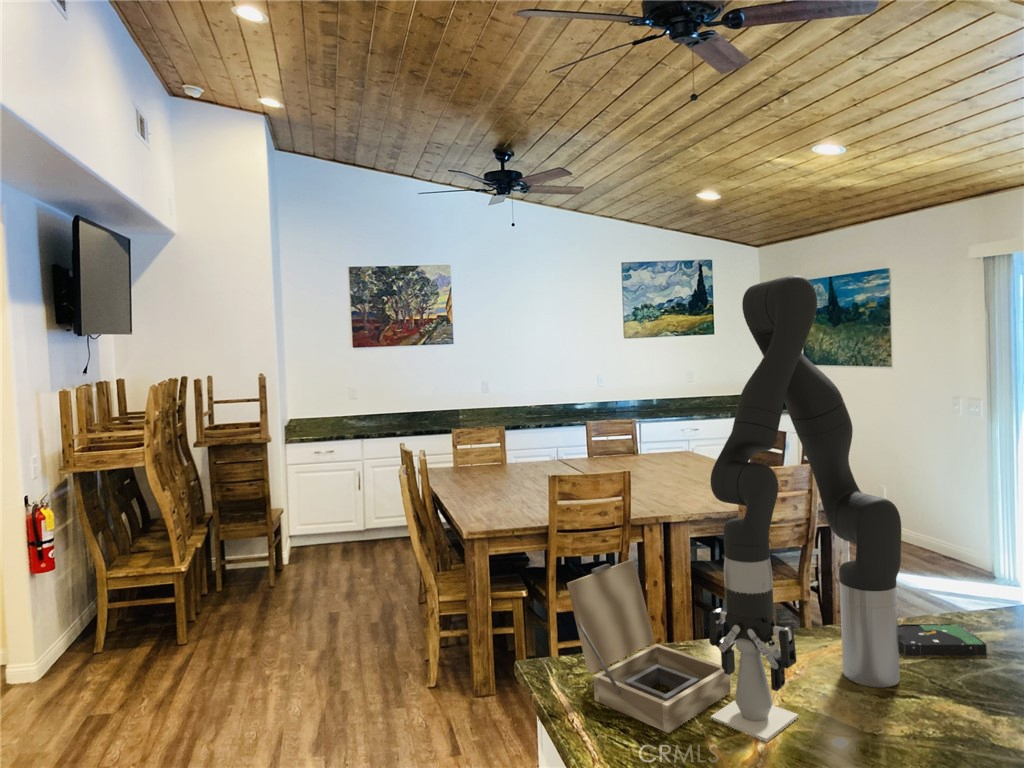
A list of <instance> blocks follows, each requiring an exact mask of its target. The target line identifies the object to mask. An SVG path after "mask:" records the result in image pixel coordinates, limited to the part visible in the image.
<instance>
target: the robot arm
mask: <svg viewBox="0 0 1024 768" xmlns="http://www.w3.org/2000/svg"><path fill="white" fill-rule="evenodd" d="M817 296H818V295H817V292H816V290H815V287H814V286H813V284H812V283H811V282H810V280H808V279H807V278H806V277H803V276H801V275H789V276H784V277H779V278H775V279H772V280H767V281H764V282H763V281H762V282H760V283H756V284H753V285H752V286H750V287H749V288H747V289H746V291H745V292H744V294H743V297H742V305H741V306H742V307H741V308H742V313H743V317H744V320H745V323H746V325H747V327H748V329H749V332H750V334H751V335H752V337H753V339H754V341H755V343H756V345H757V346H758V349H759V351H760V352H761V354H762V356H763V357H762V359H761V361H760V362H759V364H758V366H757V367H756V369H755V370H754V371H753V373H752V374H751V376H750V378H748V380H747V382H746V384H744V385H745V386H744V387H743V389H742V392H740V397H739V400H738V403H737V406H736V411H735V417H734V421H733V425H732V428H731V429H732V430H731V433H730V434H729V437H728V438H727V440H726V442H725V444H724V446H723V448H722V450H721V451H720V453H719V455H718V457H717V459H716V461H715V463H714V464H713V467H712V470H711V474H710V489H711V491H712V493H713V496H714V497H715V498H716V499H717V500H718V501H719V502H723V503H726V504H732V505H737V506H745V507H746V512H745V514H744V516H742V517H736V518H735V517H734V518H731V519H729V520H727V521H726V522H725V523H724V526H723V549H724V550H723V551H724V553H723V554H724V560H723V561H724V562H723V584H724V585H723V586H724V604H725V610H726V611H724V609H723V608H722V607H718V608H715V609H713V610H712V611H710V612H709V635H708V637H709V640H708V641H709V644H710V645H711V646H713V647H714V646H715V647H717V648H718V649H719V651H720V655H721V656H720V657H721V659H720V661H721V666H722V668H723V670H724V673H725V674H727V675H730V676H731V675H732V674H734V673H735V671H736V666H735V665H736V662H735V661H736V660H735V650H734V649H733V647H734V646H736V639H739V638H742V639H746V640H749V641H751V642H752V643H753V644H754V645H755V647H756V649H757V648H758V649H759V650H760V652H761V656H763V657H765V658H766V660H767V661H768V662H769V664H770V666H771V667H770V682H771V683H770V685H771V690H773V691H775V692H778V691H780V690H781V689H782V688H783V687H784V686H785V684H786V669H789V668H791V666H793V665H795V664H796V663H797V651H796V642H795V641H796V640H795V634H794V633H795V632H794V628H793V626H790V625H787V626H785V627H783V626H778V625H776V623H775V621H774V613H775V611H774V609H775V607H774V605H775V604H774V586H773V584H774V583H773V570H772V563H771V556H770V554H771V553H770V550H771V549H770V528H771V524H772V519H773V514H774V511H775V507H776V503H777V499H778V495H779V480H778V477H777V475H776V472H775V471H774V470H773V469H772V467H770V466H769V465H767V464H765V463H760V462H759V463H758V462H749V461H750V460H751V459H752V457H753V456H754V455H756V454H758V453H764V452H768V451H771V450H772V449H773V448H774V447H775V445H776V442H777V437H778V433H779V428H780V423H781V417H782V414H783V413H782V412H783V408H784V404H785V407H786V410H787V412H788V415H789V417H790V421H791V423H792V425H793V428H794V430H795V433H796V435H797V437H798V439H799V441H800V444H801V446H802V449H803V451H804V453H805V456H806V459H807V461H808V464H809V467H810V469H811V472H812V475H813V476H814V479H815V483H816V487H817V489H818V494H819V496H820V500H821V504H822V508H823V511H824V515H825V518H826V521H827V523H828V527H829V528H830V530H831V531H832V533H833V534H835V535H836V536H837V538H840V539H841V540H844V541H845V542H849V543H851V544H854V545H856V546H855V559H854V560H848V561H845V562H843V563H842V564H840V566H839V569H838V577H839V582H838V583H839V600H840V601H839V602H840V603H839V604H840V626H841V629H840V631H841V650H842V651H841V654H842V655H841V656H842V657H841V658H842V674H843V676H844V677H845V678H847V680H849V681H851V682H853V683H856V684H857V685H861V686H865V687H870V688H891V687H893V686H896V685H898V684H899V683H900V680H901V673H900V672H901V671H900V650H899V640H898V624H899V620H898V618H899V616H898V595H897V594H898V591H897V577H898V574H899V572H900V569H901V563H902V520H901V516H900V512H899V510H898V508H897V506H896V505H895V504H894V503H893V501H891V500H889V499H886V498H884V497H881V496H877V495H871V494H868V493H863V491H861V490H860V488H859V486H858V484H857V482H856V480H855V478H854V475H853V472H852V470H851V466H850V462H849V461H850V459H849V458H850V457H849V456H850V451H851V444H852V439H853V423H852V419H851V416H850V413H849V411H848V408H847V407H846V403H845V400H844V398H843V396H842V393H841V392H840V389H839V388H838V387H837V386H836V385H835V383H834V382H833V381H832V380H831V379H830V378H829V377H828V376H827V375H826V374H825V373H824V372H822V371H821V370H820V369H819V368H818V367H817V366H816V365H815V364H814V363H813V362H812V361H810V359H809V358H808V357H806V355H804V353H803V349H804V347H805V344H806V342H807V339H808V336H809V333H810V332H811V328H812V326H813V323H814V321H815V318H816V314H817V309H818V308H817V307H818V298H817ZM725 623H726V625H727V626H728V628H729V630H730V631H729V632H728V633H727V635H726V636H725V637H724V634H725V633H724V632H725V631H724V628H725V625H724V624H725ZM773 635H775V636H776V639H775V637H774V636H773ZM778 642H779V643H778ZM767 644H768V646H767Z"/></svg>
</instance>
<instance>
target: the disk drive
mask: <svg viewBox="0 0 1024 768" xmlns="http://www.w3.org/2000/svg"><path fill="white" fill-rule="evenodd" d="M898 640H899V652H901V653H902V654H903V655H904V656H911V657H913V656H917V657H919V656H921V657H922V656H969V657H971V656H981V657H982V656H987V654H988V653H987V652H988V651H987V650H988V649H987V643H986V642H984V641H983V640H982V639H980V638H979V637H977V635H976V634H974V633H972V632H971V631H969V630H967V628H965V627H964V625H962V624H950V623H940V624H939V623H916V624H915V623H912V624H911V623H909V624H906V623H905V624H904V623H902V624H901V623H900V624H899V623H898Z"/></svg>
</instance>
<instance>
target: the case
mask: <svg viewBox="0 0 1024 768" xmlns="http://www.w3.org/2000/svg"><path fill="white" fill-rule="evenodd" d="M577 625H578V626H579V628H580V630H581V632H582V633H583V635H584V637H585V638H586V640H587V642H588V643H589V645H590V647H591V649H592V650H593V652H594V654H595V655H596V657H597V659H598V661H599V662H600V664H601V666H602V667H603V668H602V669H603V670H601V671H599V672H598V673H596V674H593V679H592V680H593V692H594V693H593V694H594V695H593V696H594V701H595V702H598V703H599V704H602V705H604V706H607V707H609V708H611V709H613V710H615V711H618V712H620V713H622V714H624V715H627V716H629V717H631V718H633V719H635V720H638V721H640V722H641V723H644V724H647V725H649V726H652V727H653V728H656V729H658V730H660V731H663V732H665V733H667V734H670V733H671V732H673V731H675V730H677V729H678V728H680V727H681V726H682V725H684V724H686V723H687V722H688V720H689V721H691V720H692V719H693V718H695V717H696V716H698V715H699V714H701V713H703V712H704V711H705V710H704V709H706V708H707V707H708V706H709V705H711V704H713V703H714V702H716V701H717V700H719V699H721V698H722V697H724V696H725V695H727V694H728V693H730V692H731V691H732V690H731V674H730V675H727V674H725V673H724V670H723V668H722V664H721V665H720V664H718V663H715V662H712V661H708V660H706V659H703V658H700V657H696V656H695V655H691V654H688V653H685V652H682V651H680V650H677V649H673V648H670V647H667V646H664V645H661V644H658V643H655V644H653V645H652V646H651V645H650V646H649V647H647V648H645V649H643V650H641V651H640V652H639V651H638V652H637V653H636V654H633V655H631V656H629V657H627V658H626V659H623V660H621V661H619V662H617V663H615V664H613V665H611V666H609V667H608V666H605V664H604V662H603V660H602V659H601V657H600V655H599V654H598V652H597V650H596V649H595V647H594V645H593V644H592V642H591V640H590V638H589V637H588V635H587V633H586V632H585V630H584V628H583V627H582V625H581V623H580V622H578V624H577ZM577 625H576V626H577ZM659 683H660V684H659ZM658 684H659V685H662V684H663V685H662V686H664V685H666V686H665V687H667V686H668V688H670V687H671V688H670V689H672V688H673V689H672V690H670V691H668V692H667V693H664V692H662V691H660V690H657V689H653V687H655V686H656V685H658ZM731 693H732V692H731ZM731 693H730V694H731ZM727 696H728V695H727ZM724 698H725V697H724ZM722 699H723V698H722ZM722 699H721V700H722ZM719 701H720V700H719ZM716 703H717V702H716ZM713 705H714V704H713ZM707 709H708V708H707ZM707 709H706V710H707ZM703 710H704V711H703ZM700 712H701V713H700ZM698 713H699V714H698ZM697 714H698V715H697ZM694 716H695V717H694ZM691 718H692V719H691ZM685 722H686V723H685ZM683 723H684V724H683ZM680 725H681V726H680Z"/></svg>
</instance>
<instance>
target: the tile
mask: <svg viewBox="0 0 1024 768" xmlns="http://www.w3.org/2000/svg"><path fill="white" fill-rule="evenodd" d="M797 718H798V719H799V713H796V712H792V711H790V710H788V709H784V708H782V707H779V706H777V705H773V704H772V707H771V709H770V712H769V714H768V716H767V717H766V719H765V720H760V721H751V720H749V719H746V718H744V717H743V716H742V714H741V712H740V710H739V708H738V706H737V704H736V701H735V699H734V700H732V701H731V702H729V703H728V704H727V705H725V706H724V707H722V708H721V709H719V710H718V711H716V712H715V713H714V714H712V715H710V720H711V719H713V720H715V721H717V722H720V723H723V724H725V725H727V726H730V727H732V728H734V729H733V730H735V729H737V730H739V731H742V732H744V733H747V734H749V735H751V736H750V737H752V736H754V737H756V738H755V739H757V738H758V739H757V740H759V739H761V740H760V741H762V740H763V741H762V742H764V741H765V743H769V741H771V740H772V739H773V738H775V737H776V736H777V735H779V734H780V733H781V732H782V731H784V730H785V729H787V728H788V727H789V726H790V725H791V724H793V723H794V722H795V721H797V720H798V719H797ZM794 720H795V721H794ZM715 721H714V722H715ZM717 722H716V723H717ZM792 722H793V723H792ZM720 723H719V724H720ZM789 724H790V725H789ZM725 725H724V726H725ZM788 725H789V726H788ZM727 726H726V727H727ZM730 727H729V728H730ZM732 728H731V729H732ZM784 728H785V729H784ZM783 729H784V730H783ZM737 730H736V731H737ZM739 731H738V732H739ZM780 731H781V732H780ZM742 732H741V733H742ZM779 732H780V733H779ZM744 733H743V734H744ZM747 734H746V735H747ZM749 735H748V736H749ZM775 735H776V736H775ZM774 736H775V737H774ZM754 737H753V738H754ZM771 738H772V739H771ZM770 739H771V740H770Z"/></svg>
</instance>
